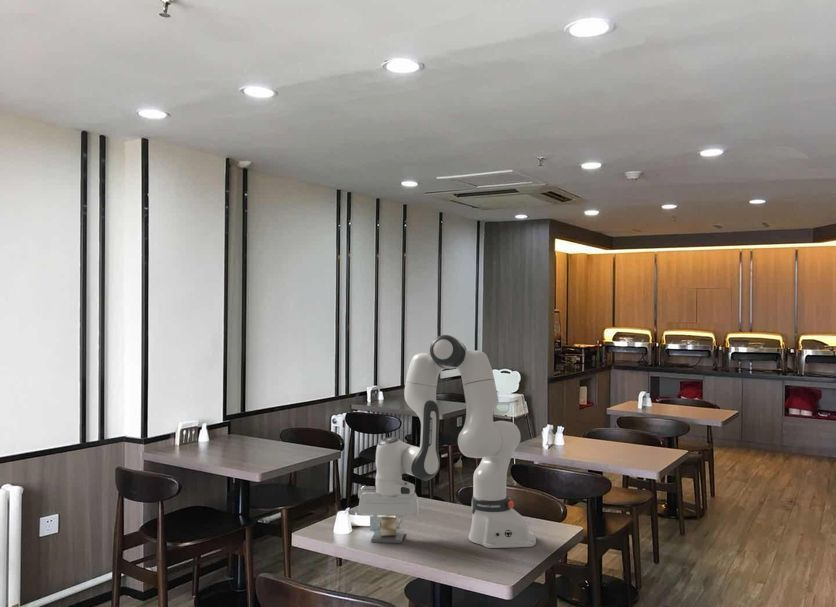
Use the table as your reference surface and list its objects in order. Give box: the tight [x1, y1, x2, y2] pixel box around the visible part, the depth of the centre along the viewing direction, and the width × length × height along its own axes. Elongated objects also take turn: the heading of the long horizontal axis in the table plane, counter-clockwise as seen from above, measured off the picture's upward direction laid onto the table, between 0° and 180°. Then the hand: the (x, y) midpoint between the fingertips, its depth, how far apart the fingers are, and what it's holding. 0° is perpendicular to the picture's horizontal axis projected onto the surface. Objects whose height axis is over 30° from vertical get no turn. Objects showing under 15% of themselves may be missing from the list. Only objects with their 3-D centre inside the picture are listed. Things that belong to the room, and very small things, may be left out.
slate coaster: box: [370, 529, 406, 544], centre depth 228 cm, size 10×10×1 cm
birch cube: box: [381, 515, 397, 536], centre depth 228 cm, size 5×5×5 cm
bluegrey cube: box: [369, 515, 390, 532], centre depth 237 cm, size 5×5×5 cm
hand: (388, 527), depth 228 cm, fingers closed on birch cube, 5 cm apart
